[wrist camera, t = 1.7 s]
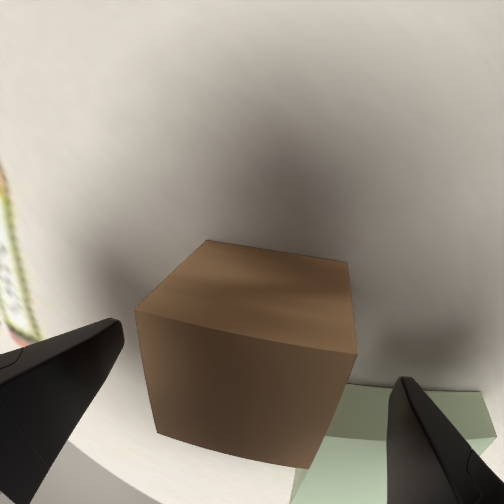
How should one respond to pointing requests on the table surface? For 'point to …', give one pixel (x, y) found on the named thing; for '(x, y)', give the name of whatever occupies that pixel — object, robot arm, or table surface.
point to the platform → (376, 445)
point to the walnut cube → (248, 351)
